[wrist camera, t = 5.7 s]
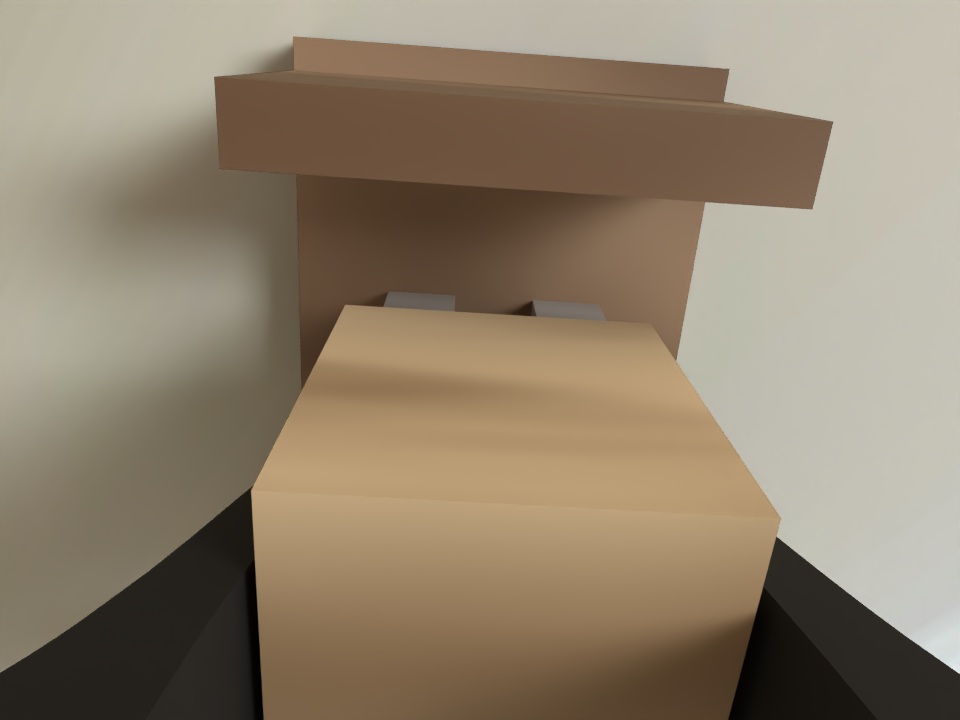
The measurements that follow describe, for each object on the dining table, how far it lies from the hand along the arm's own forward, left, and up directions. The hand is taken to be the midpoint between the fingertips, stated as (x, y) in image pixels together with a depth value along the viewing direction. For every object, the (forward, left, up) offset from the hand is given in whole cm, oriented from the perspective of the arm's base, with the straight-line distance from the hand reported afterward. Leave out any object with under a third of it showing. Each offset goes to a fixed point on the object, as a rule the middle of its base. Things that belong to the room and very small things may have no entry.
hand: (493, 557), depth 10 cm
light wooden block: (0, 0, -2) cm, 3 cm away
